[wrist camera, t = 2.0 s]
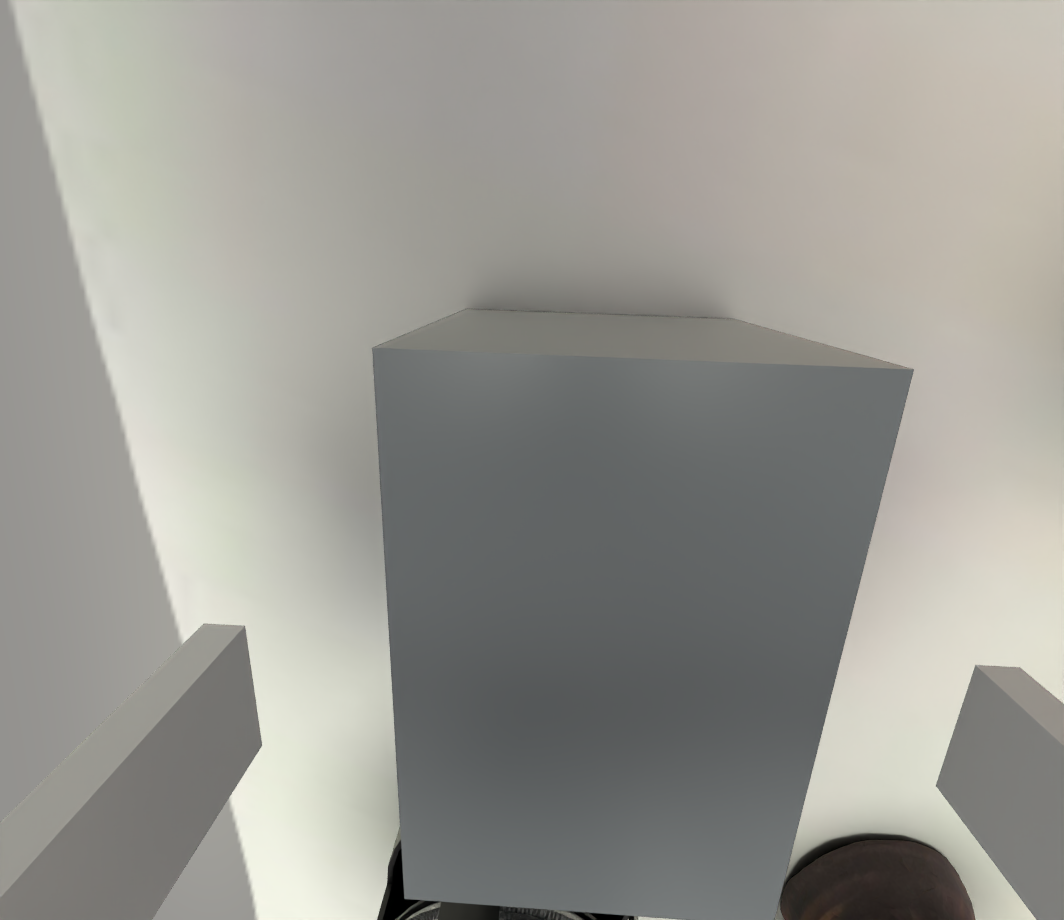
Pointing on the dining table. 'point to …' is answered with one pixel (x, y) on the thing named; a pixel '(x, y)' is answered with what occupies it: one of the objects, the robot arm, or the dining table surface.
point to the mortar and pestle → (877, 885)
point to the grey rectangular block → (618, 599)
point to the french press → (462, 904)
